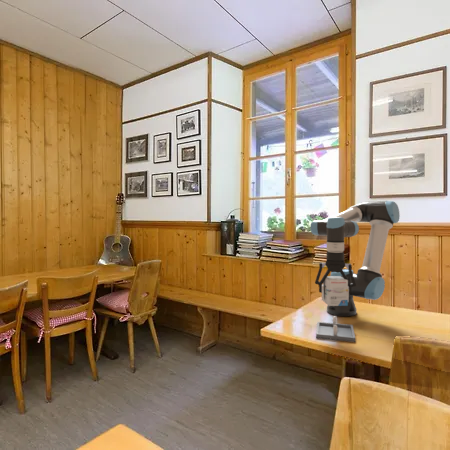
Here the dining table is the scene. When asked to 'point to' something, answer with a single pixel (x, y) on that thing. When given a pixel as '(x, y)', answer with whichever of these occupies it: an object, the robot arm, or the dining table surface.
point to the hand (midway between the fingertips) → (334, 300)
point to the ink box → (335, 291)
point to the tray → (341, 332)
